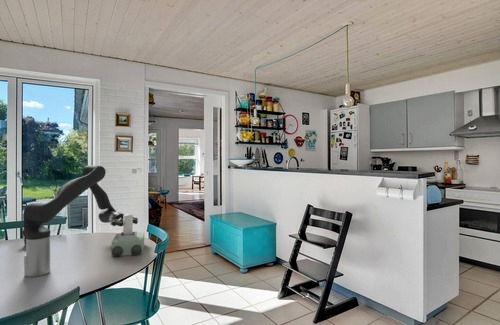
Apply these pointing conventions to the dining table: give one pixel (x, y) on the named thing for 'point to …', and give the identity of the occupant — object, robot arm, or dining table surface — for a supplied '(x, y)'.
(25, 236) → the coffee mug
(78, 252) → the dining table surface
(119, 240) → the pale green toy car
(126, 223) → the spout tube
